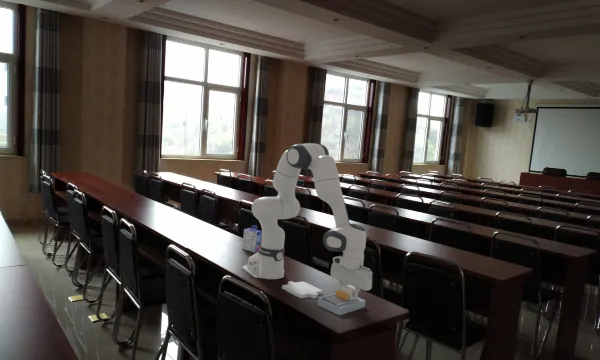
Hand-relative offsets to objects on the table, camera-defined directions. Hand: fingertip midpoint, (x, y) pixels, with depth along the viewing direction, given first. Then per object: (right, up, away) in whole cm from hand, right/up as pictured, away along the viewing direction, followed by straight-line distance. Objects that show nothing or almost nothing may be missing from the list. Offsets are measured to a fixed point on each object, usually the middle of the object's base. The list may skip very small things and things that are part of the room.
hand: (348, 293), depth 185 cm
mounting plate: (-20, -2, +10) cm, 23 cm away
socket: (-4, -5, -3) cm, 6 cm away
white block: (0, -4, +1) cm, 4 cm away
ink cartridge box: (-50, +7, +69) cm, 85 cm away
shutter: (-6, -2, -5) cm, 8 cm away
